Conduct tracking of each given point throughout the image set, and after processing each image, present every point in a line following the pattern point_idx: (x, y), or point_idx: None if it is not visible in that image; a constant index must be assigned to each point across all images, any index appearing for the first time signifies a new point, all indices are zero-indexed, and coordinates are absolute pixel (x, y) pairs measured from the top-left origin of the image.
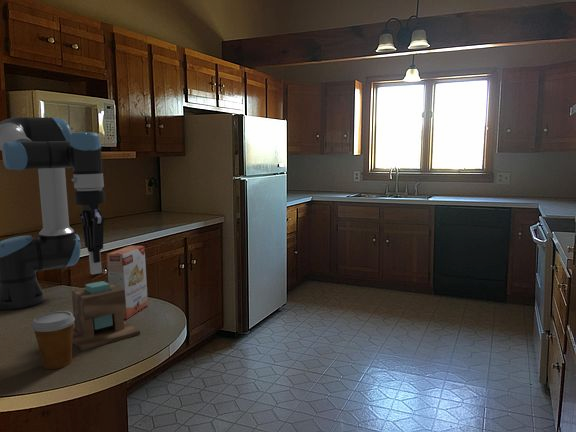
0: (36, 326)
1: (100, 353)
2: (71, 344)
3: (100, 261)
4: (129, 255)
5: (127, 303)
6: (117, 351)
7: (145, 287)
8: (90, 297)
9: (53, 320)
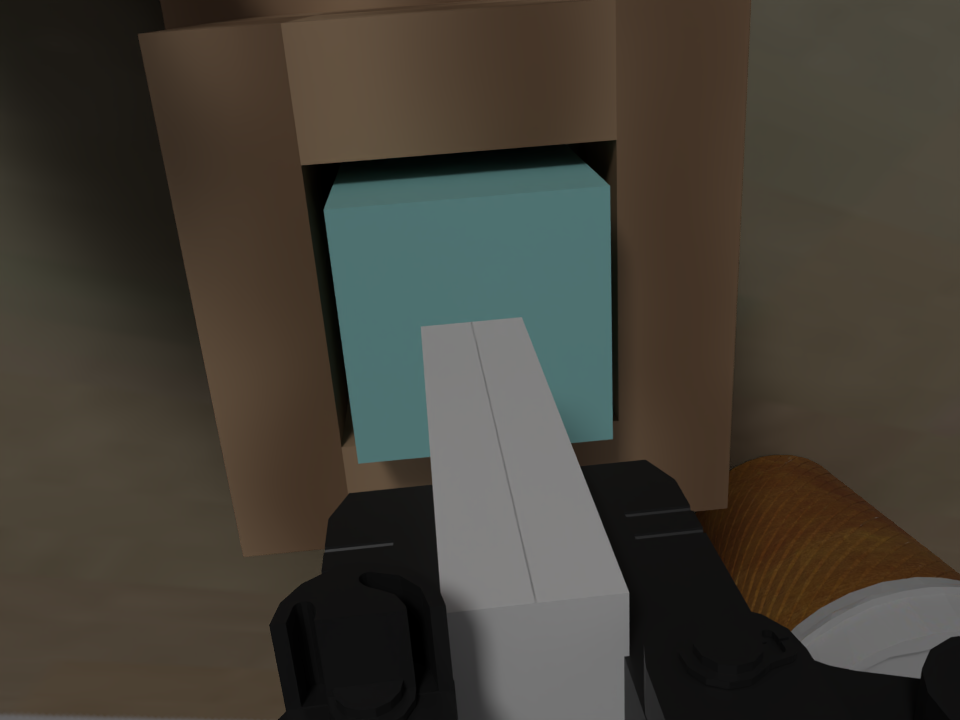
0: None
1: (816, 286)
2: (881, 515)
3: (557, 428)
4: None
5: None
6: (878, 181)
7: None
8: (729, 444)
9: None
